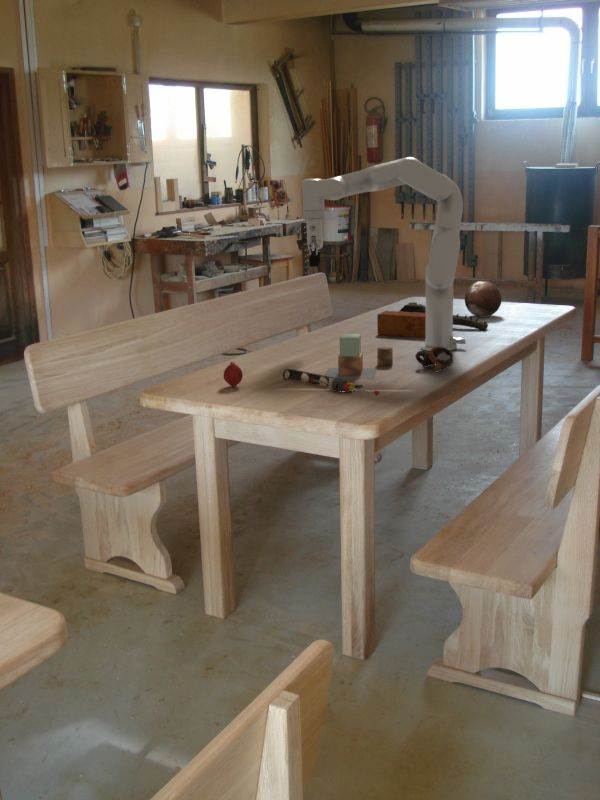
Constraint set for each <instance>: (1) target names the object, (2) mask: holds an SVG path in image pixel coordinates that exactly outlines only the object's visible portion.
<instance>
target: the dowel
mask: <svg viewBox="0 0 600 800" xmlns="http://www.w3.org/2000/svg"><path fill="white" fill-rule="evenodd" d="M376 351H377V356H376V363H377V366H378V367H383V368H384V367H385V368H386V367H391V366H393V365H394V364H393V363H394V361H393V360H394V359H393V358H394V357H393V356H394V355H393V351H394V350H393V347H391V346H379V347H376Z"/></svg>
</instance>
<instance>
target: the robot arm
mask: <svg viewBox="0 0 600 800" xmlns="http://www.w3.org/2000/svg"><path fill="white" fill-rule="evenodd" d="M403 185H407V186H409V187H410V188H412V189H414V190H416V191H417V192H419V193H421V194H423V195H424V196H426V197H428V198H430V199H432V200H434V201H436V203H437V212H436V219H435V226H434V230H433V234H432V237H431V241H430V242H431V244H430V252H429V257H428V262H427V263H428V264H427V265H426V268H425V273H424V274H425V303H424V304H425V305H424V306H425V338H424V339H425V340H424V341H425V342H423V343H422V344H420V348H421V350H422V351H427V352H429V351H431V349H432V348H434V347H443V348H446V349H448V350H451V351H455V350H456V349H458V347H457V346H458V344H461V345H466V337H465V338H463V337H455V336H454V333H453V332H454V330H453V327H454V325H453V315H454V280H455V276H456V271H457V265H458V261H459V255H460V249H461V239H460V231H461V225H462V217H463V212H464V211H463V209H464V201H463V196H462V193H461V190H460V188H459V186H458V185H457V184H456V183H455V182H454V181H453V180H452V179H451V178H450V177H449V176H448V175H445V174H443V173H441V172H439V171H437V170H435V169H433V168H432V167H430V166H429V165H426V164H425V163H423V162H421V161H420V160H419V159H417V158H416V157H413V156H407V157H403V158H398V159H395V160H391V161H388V162H383V163H380V164H376V165H372V166H368V167H366V168H364V169H361V170H357V171H353V172H348V173H347V174H346V173H345V174H342V175H338V176H334V177H329V178H326V179H325V178H324V179H322V178H305V179H303V180H302V184H301V188H302V189H301V191H302V193H301V194H302V197H301V198H302V219H303V221H306V239H307V240H306V241H307V248H308V249H309V255H308V259H309V260H308V261H309V262H308V263H309V264H308V265H309V268H310V267H312V268H313V267H314V268H316V267H319V264H321V251H320V250H321V249H322V248H323V246H324V240H323V239H324V237H323V235H324V234H323V233H324V232H323V220H325V219H326V218H325V211H326V210H325V200H328V201H338V200H340V199H342V198H347V197H350V196H353V195H354V196H355V195H357V194H363V193H368V192H369V193H374V192H379V191H383V190H387V189H391V188H395V187H399V186H403ZM454 349H455V350H454Z"/></svg>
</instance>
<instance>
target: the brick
mask: <svg viewBox="0 0 600 800" xmlns="http://www.w3.org/2000/svg"><path fill="white" fill-rule="evenodd" d="M376 320H377V324H376V325H377V335H378V336H386V335H387V336H388V337H389V336H390V337H391V336H392V337H405V338H417V339H419V338H421V339H425V313H418V312H403V311H400V310H398V311H397V310H396V311H395V310H392V311H391V310H384V311H382V312H380V313H378V314H377V317H376ZM387 336H386V337H387Z"/></svg>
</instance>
